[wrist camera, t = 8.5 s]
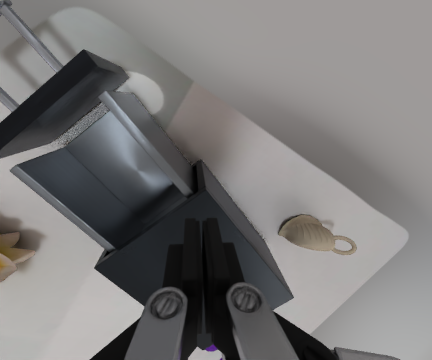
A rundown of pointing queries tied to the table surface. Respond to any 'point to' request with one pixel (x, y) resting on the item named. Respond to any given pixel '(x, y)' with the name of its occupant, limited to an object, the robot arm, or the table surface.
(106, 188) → the drawer with silver handle
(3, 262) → the decorative flower
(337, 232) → the table surface
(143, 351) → the robot arm
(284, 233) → the decorative ornament
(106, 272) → the cabinet
